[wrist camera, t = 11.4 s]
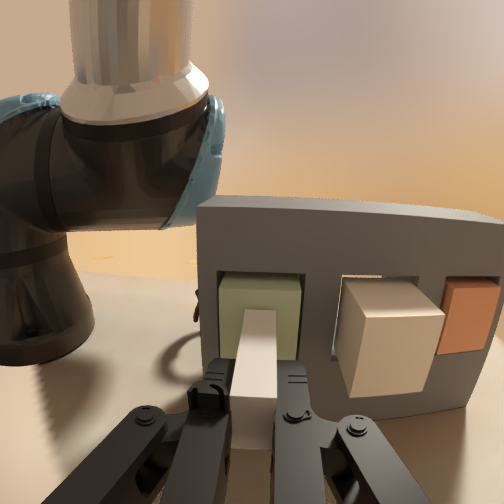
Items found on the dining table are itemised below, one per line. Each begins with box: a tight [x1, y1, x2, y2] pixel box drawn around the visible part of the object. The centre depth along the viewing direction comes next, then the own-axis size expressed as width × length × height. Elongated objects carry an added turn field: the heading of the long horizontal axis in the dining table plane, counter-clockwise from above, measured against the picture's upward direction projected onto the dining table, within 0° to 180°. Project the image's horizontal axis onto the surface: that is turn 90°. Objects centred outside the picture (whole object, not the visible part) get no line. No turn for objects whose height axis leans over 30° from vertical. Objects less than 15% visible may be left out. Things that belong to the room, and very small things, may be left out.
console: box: [196, 195, 504, 423], centre depth 20 cm, size 20×6×14 cm, turn 87°
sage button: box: [219, 271, 301, 360], centre depth 19 cm, size 4×5×4 cm
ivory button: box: [333, 277, 445, 398], centre depth 16 cm, size 4×5×4 cm
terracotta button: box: [435, 276, 501, 355], centre depth 19 cm, size 4×5×4 cm
